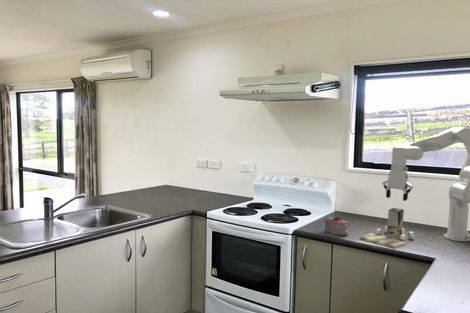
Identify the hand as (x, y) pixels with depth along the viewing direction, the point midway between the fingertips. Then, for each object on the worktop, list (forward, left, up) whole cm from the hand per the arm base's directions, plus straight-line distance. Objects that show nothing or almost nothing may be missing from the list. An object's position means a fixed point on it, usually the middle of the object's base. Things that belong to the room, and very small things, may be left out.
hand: (396, 199), depth 217 cm
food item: (+24, +21, -22) cm, 39 cm away
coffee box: (0, 0, -22) cm, 22 cm away
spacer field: (0, -2, -22) cm, 22 cm away
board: (0, +13, -22) cm, 26 cm away
